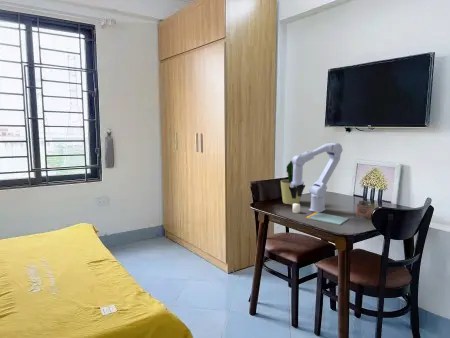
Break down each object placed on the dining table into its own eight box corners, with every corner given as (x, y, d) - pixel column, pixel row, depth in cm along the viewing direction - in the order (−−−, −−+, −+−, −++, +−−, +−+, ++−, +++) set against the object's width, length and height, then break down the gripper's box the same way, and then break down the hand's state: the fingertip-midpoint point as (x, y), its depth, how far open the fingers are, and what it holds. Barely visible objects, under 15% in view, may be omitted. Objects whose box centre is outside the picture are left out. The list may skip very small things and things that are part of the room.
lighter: (354, 216, 193) (356, 200, 191) (357, 215, 195) (358, 199, 194) (369, 219, 187) (370, 202, 186) (371, 218, 190) (372, 201, 188)
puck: (294, 210, 204) (294, 203, 203) (301, 212, 201) (301, 204, 201) (291, 212, 201) (291, 204, 200) (297, 213, 198) (298, 205, 197)
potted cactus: (287, 198, 236) (288, 157, 231) (306, 202, 226) (308, 159, 221) (275, 202, 224) (276, 159, 220) (295, 206, 214) (297, 161, 210)
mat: (316, 213, 199) (316, 212, 199) (348, 219, 187) (348, 218, 187) (306, 218, 188) (306, 217, 188) (339, 225, 176) (339, 223, 176)
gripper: (297, 173, 206) (296, 194, 208) (285, 176, 195) (285, 198, 196) (307, 174, 201) (306, 196, 203) (296, 177, 190) (295, 200, 192)
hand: (296, 197), depth 200 cm, fingers open, 7 cm apart
